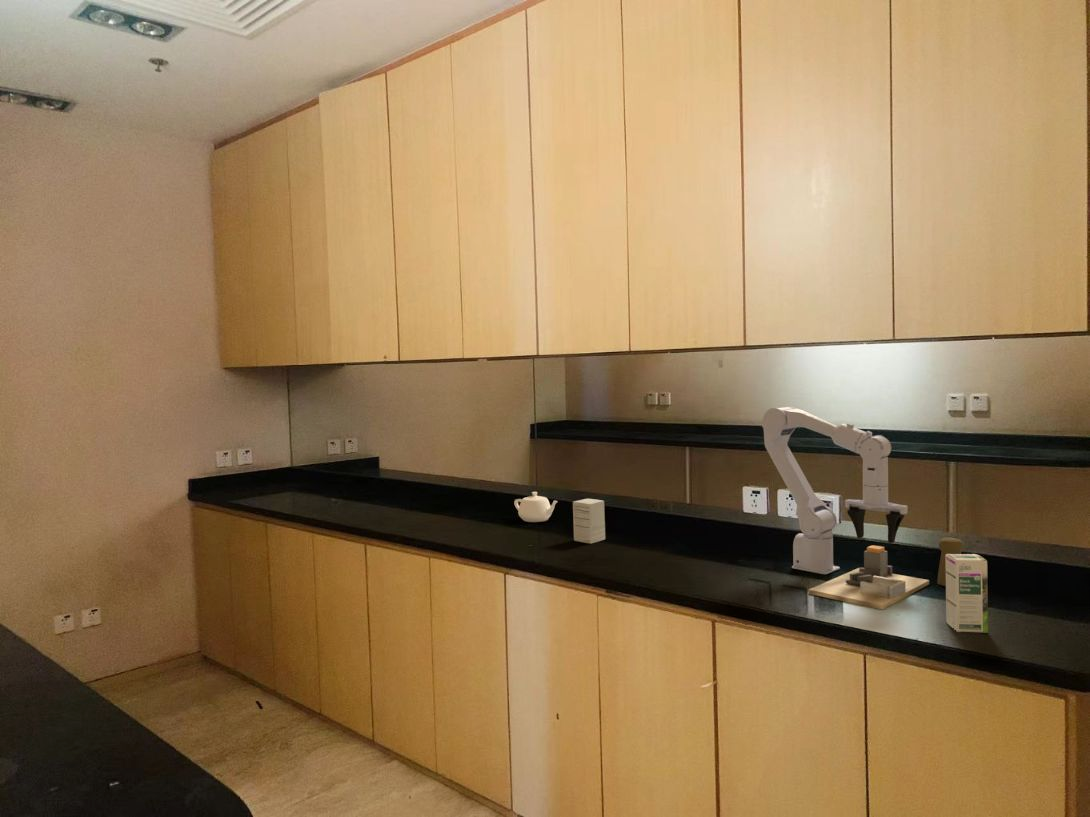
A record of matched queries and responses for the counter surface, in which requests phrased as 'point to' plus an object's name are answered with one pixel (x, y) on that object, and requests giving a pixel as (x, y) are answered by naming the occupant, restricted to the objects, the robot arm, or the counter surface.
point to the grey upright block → (876, 559)
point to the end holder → (883, 587)
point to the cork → (947, 548)
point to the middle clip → (860, 577)
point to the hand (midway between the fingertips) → (875, 539)
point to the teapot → (534, 508)
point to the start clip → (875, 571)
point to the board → (852, 594)
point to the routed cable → (856, 582)
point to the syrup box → (966, 592)
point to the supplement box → (589, 520)
